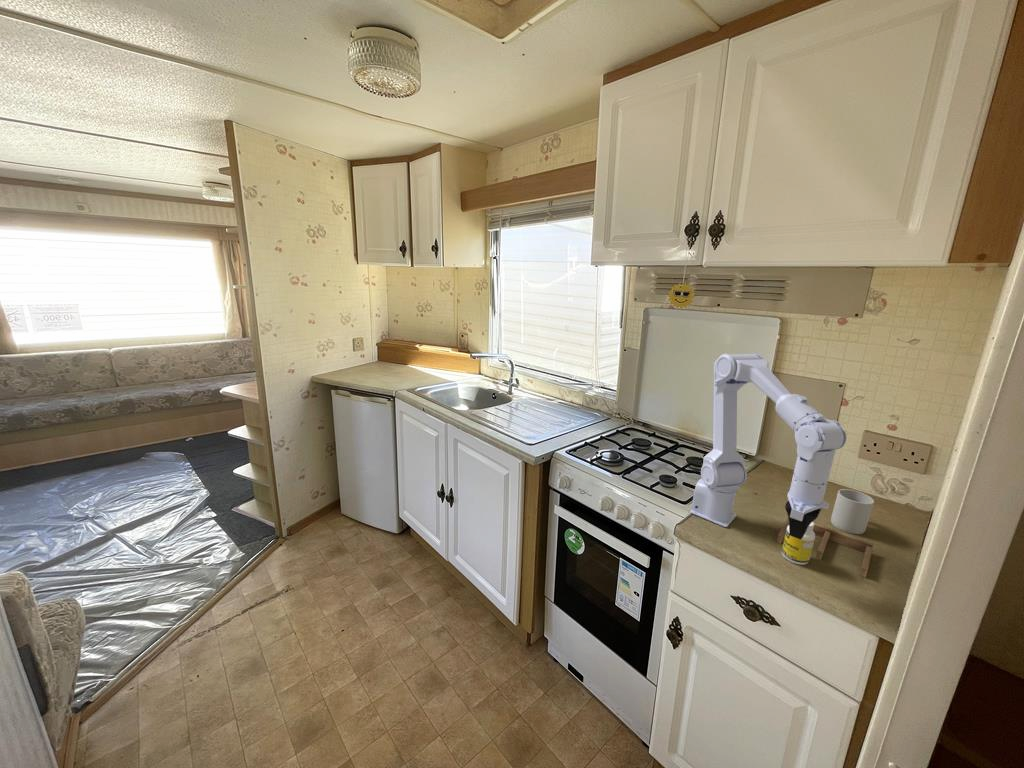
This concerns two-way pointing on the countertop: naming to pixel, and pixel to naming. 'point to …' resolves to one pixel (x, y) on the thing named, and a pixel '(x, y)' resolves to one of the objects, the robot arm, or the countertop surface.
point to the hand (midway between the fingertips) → (795, 536)
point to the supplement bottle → (799, 546)
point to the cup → (851, 511)
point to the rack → (839, 538)
